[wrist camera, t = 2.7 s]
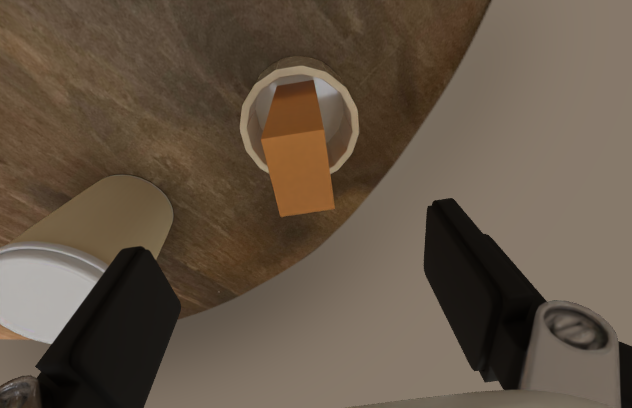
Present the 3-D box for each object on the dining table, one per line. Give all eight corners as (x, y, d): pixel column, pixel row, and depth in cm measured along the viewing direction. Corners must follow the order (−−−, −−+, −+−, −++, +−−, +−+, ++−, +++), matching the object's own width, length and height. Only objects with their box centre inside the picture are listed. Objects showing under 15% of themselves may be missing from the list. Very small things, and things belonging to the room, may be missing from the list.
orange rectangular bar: (313, 79, 24) (324, 129, 14) (321, 133, 27) (335, 209, 16) (276, 85, 24) (260, 139, 14) (287, 139, 27) (280, 217, 17)
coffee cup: (63, 168, 28) (-73, 259, 18) (167, 162, 28) (92, 249, 18) (105, 247, 33) (18, 353, 23) (193, 242, 33) (146, 344, 23)
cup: (343, 47, 24) (353, 56, 19) (351, 146, 28) (362, 173, 23) (239, 65, 24) (224, 78, 19) (263, 160, 28) (257, 189, 24)
